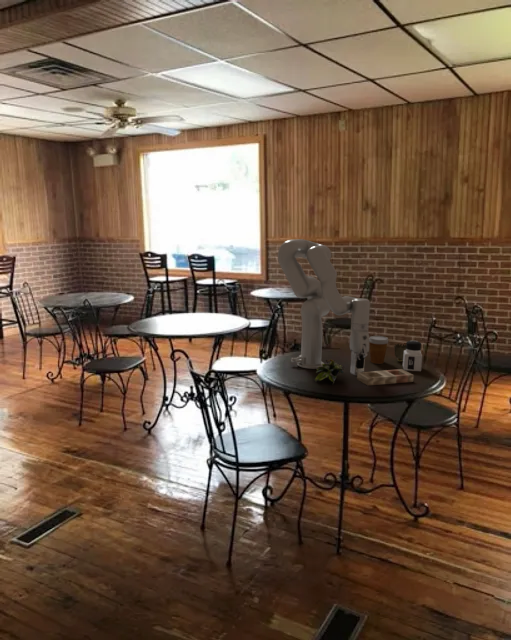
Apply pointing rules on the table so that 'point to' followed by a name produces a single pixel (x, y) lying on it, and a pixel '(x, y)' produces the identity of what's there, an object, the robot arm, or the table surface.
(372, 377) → the block with square holes
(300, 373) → the table surface
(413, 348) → the container
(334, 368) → the passion flower
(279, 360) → the table surface
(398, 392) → the table surface
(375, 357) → the disposable coffee cup
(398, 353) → the cup
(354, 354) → the peg
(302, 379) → the table surface
